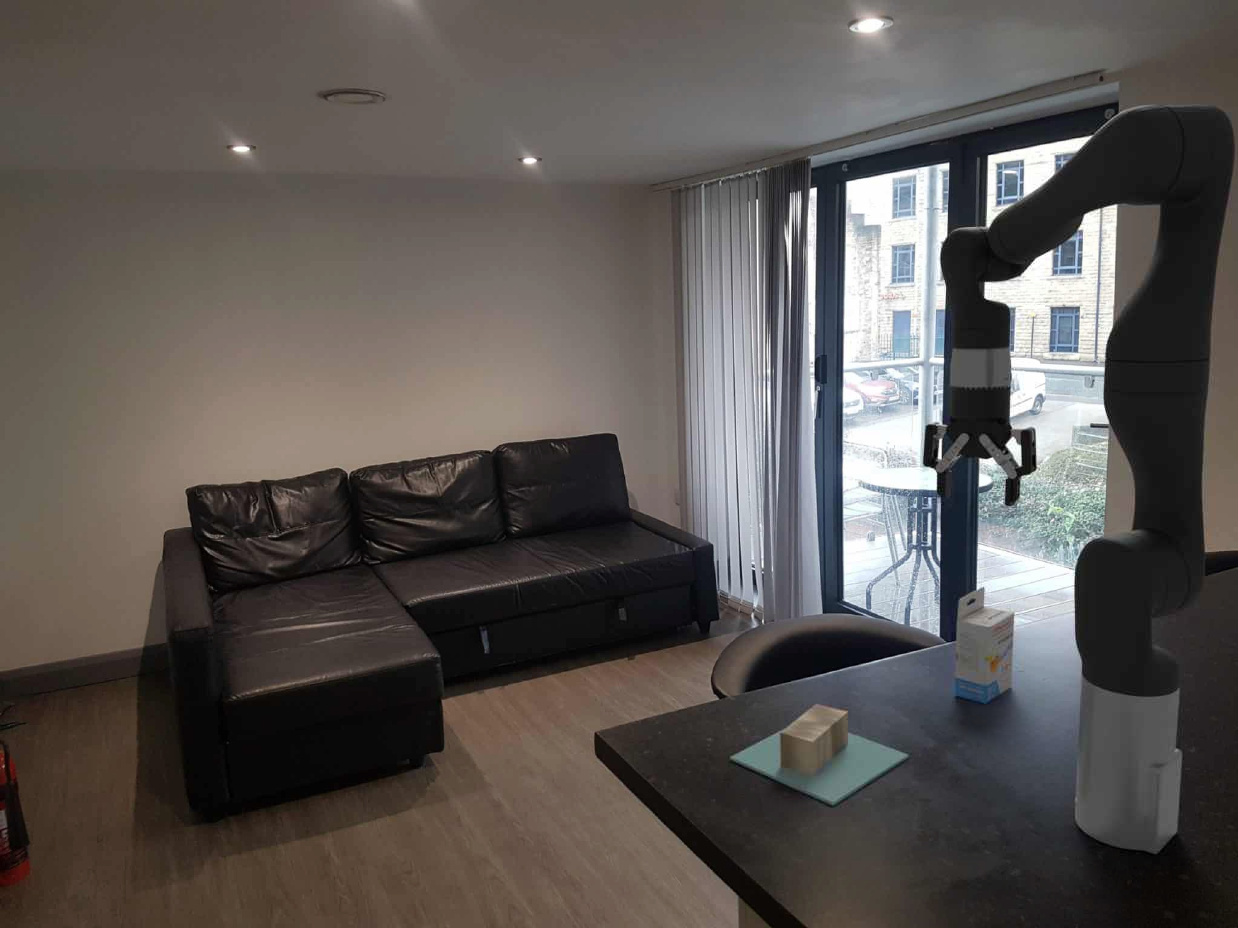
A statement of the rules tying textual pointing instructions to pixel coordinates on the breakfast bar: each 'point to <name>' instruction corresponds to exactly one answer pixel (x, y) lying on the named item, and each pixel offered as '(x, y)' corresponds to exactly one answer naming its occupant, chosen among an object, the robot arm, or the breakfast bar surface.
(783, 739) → the block
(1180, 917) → the breakfast bar surface
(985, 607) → the ink box
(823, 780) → the mat
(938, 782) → the breakfast bar surface
